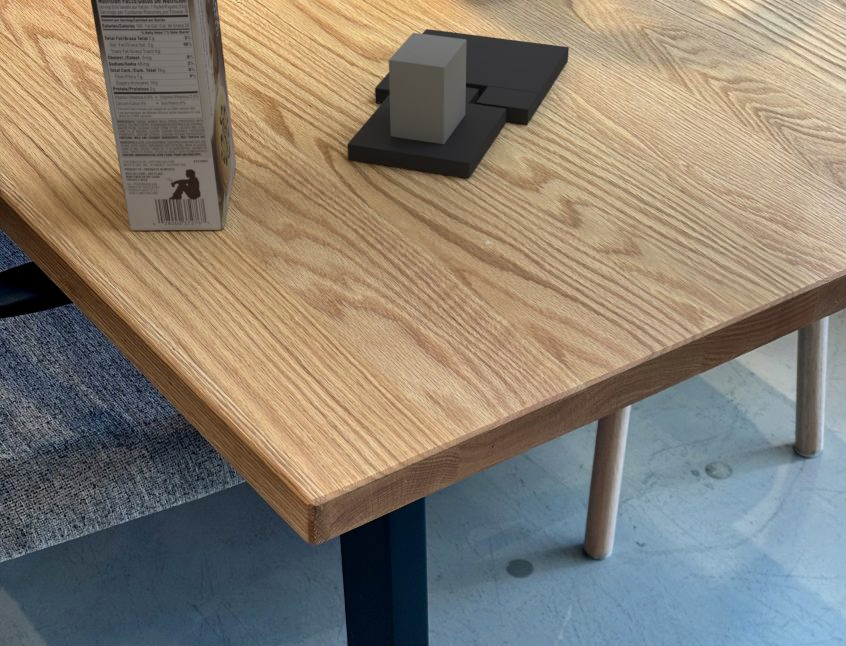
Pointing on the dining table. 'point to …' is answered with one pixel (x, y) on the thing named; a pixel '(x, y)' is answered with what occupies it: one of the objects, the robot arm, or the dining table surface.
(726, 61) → the dining table surface
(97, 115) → the dining table surface
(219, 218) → the coffee box
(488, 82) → the base pad
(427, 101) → the grey post on plate
